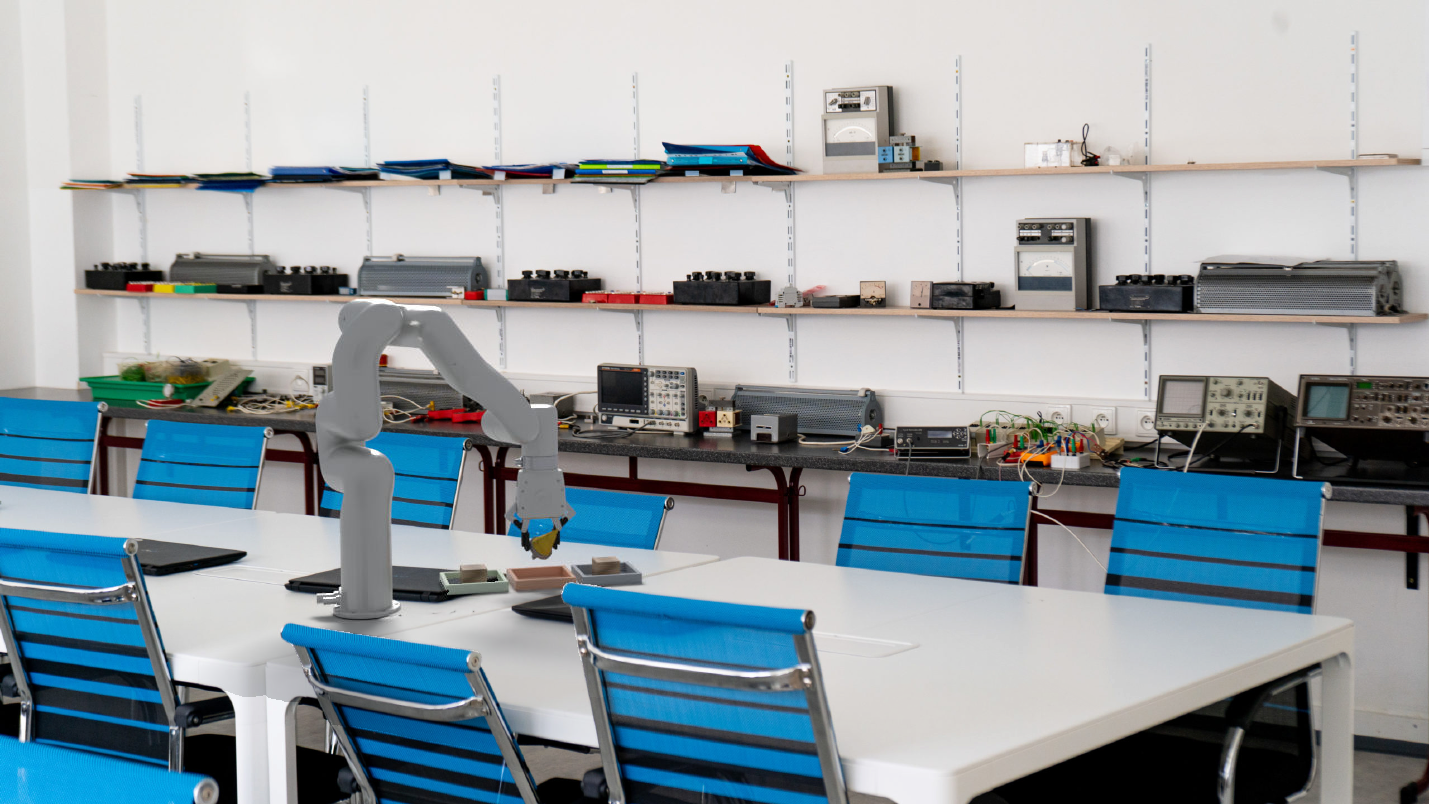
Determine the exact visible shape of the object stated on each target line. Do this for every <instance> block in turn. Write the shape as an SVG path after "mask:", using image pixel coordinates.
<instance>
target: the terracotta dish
mask: <svg viewBox="0 0 1429 804" xmlns="http://www.w3.org/2000/svg"><path fill="white" fill-rule="evenodd" d="M505 570H506V572H505V573H506V574H505V575H506V576H505V577H506V579H507V580H508V582H509V584H510V585H511V586H512V588H513V589H514V591H516V592H517V591H530V590H531V591H533V590H546V589H548V590H549V589H562V588H563V586H564V585H565V584H566V583H569V582H574V583H576V584H577V579H576V577H575V576H574V575H573V574H572V572H571V569H569V568H568V567H567V566H566V564H565V565H562V564H561V565H546V566H531V567H530V566H529V567H512V568H506V569H505Z"/></svg>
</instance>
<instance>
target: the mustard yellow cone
mask: <svg viewBox="0 0 1429 804" xmlns="http://www.w3.org/2000/svg"><path fill="white" fill-rule="evenodd" d="M558 530H559V529H556V530H554V531H549V532H547V533H545V534H542V535H540V536H534V537H532V538H530V553H531V559H532V561H534V560H536V559H539V560H542V561H543V560H544V561H545V560H548V559H549V558H550V557H551V556H552V554H553V548H552V547H553V544H554V541H555V538H556V534H557V532H558Z"/></svg>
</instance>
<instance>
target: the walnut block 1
mask: <svg viewBox="0 0 1429 804" xmlns="http://www.w3.org/2000/svg"><path fill="white" fill-rule="evenodd" d="M487 570H488V568H487V566H486V564H485V563H479V564H478V563H477V564H476V563H475V564H461V565H459V571H460V582H461V583H462V584H464V583H480V582H487Z"/></svg>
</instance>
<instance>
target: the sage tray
mask: <svg viewBox="0 0 1429 804" xmlns="http://www.w3.org/2000/svg"><path fill="white" fill-rule="evenodd" d="M487 576H497V579H498V581H495V582H480V583H464V584H449V582H448V580H447V579H453V578H460V570H458V571H444V572H443V571H442V572H439V581H440V580H441V582H442V584H443V585H444V587H445V589H446V590H447V589H448V590H449V592H448V593H447V595H446V596H451V595H452V596H453V595H454V596H455V595H467V594H468V595H469V594H481V593H482V594H483V593H499V592H501V593H502V592H509V590H510V587H509V584H510V582H509V581H508V579H507V578H506V576H505V574H504V572H503V571H502V570H501V569H500V568H498V569H497V568H496V569H495V568H494V569H487Z"/></svg>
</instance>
